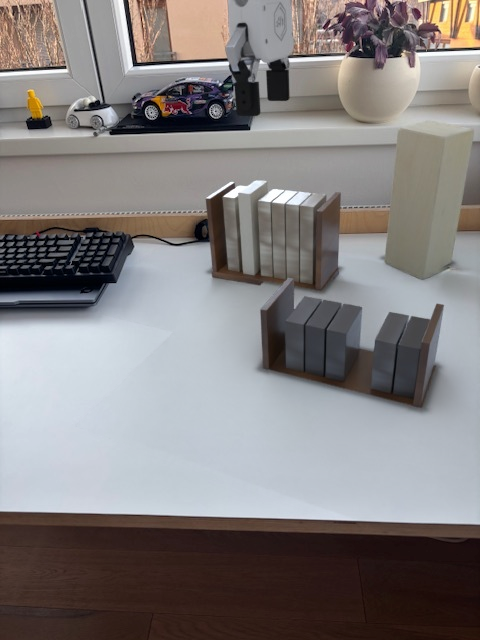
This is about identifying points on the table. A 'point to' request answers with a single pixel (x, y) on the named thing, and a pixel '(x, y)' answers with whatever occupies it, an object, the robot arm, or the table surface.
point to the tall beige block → (427, 196)
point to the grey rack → (349, 347)
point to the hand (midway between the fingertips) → (264, 107)
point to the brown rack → (277, 237)
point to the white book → (250, 225)
